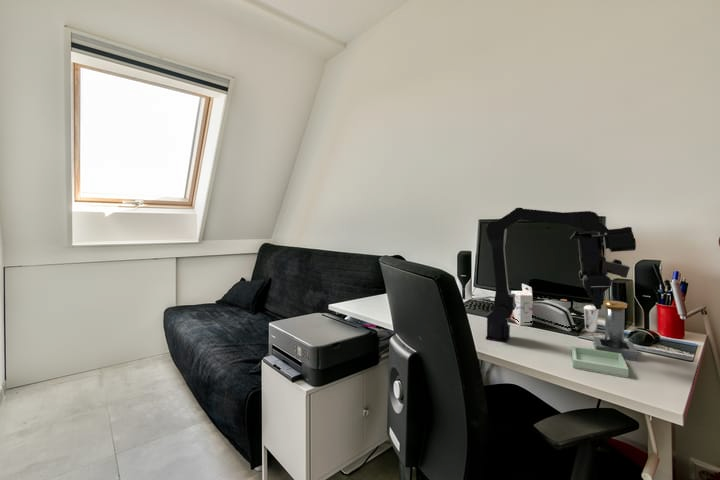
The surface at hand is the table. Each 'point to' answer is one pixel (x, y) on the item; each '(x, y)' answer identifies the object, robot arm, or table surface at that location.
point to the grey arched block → (552, 314)
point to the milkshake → (591, 318)
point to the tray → (599, 361)
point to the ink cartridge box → (523, 306)
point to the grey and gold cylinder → (614, 323)
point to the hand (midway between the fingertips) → (596, 305)
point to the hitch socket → (627, 352)
